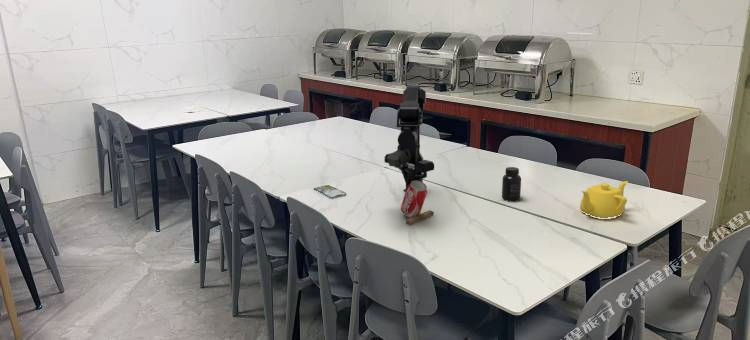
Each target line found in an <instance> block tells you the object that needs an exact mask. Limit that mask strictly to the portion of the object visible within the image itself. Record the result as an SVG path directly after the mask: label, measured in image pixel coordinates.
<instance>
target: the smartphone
mask: <svg viewBox="0 0 750 340" xmlns="http://www.w3.org/2000/svg"><path fill="white" fill-rule="evenodd" d="M315 190H316V191H315ZM313 191H315V192H317V191H318V192H317V193H319V192H320V193H319V194H321V193H322V194H323V195H322V194H321V195H322V196H324V195H325V197H326V196H327V198H328V197H329V198H328V199H329V200H335V199H338V197H339V198H342V196H343V197H346V196H347V192H345V191H343V190H340V189H339V188H336V187H334V186H331V185H330V184H326V185H321V186H317V187H314V188H313ZM334 198H335V199H334Z"/></svg>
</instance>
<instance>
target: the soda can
mask: <svg viewBox="0 0 750 340" xmlns="http://www.w3.org/2000/svg"><path fill="white" fill-rule="evenodd" d="M427 189H428V186H427V185H426V183H424V181H423V182H421V181H416V180H415V181H412V182H411V184H409V185H408V187H407V190H406V192H404V196H403V199H402V202H401V206H400V211H401V213H402V214H403V215H404V216H406V217H408V218H411V217H414V216H416V215H419V214H421V211H422V209H423V205H424V203H425V199H426V197H427V194H428V190H427Z"/></svg>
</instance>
